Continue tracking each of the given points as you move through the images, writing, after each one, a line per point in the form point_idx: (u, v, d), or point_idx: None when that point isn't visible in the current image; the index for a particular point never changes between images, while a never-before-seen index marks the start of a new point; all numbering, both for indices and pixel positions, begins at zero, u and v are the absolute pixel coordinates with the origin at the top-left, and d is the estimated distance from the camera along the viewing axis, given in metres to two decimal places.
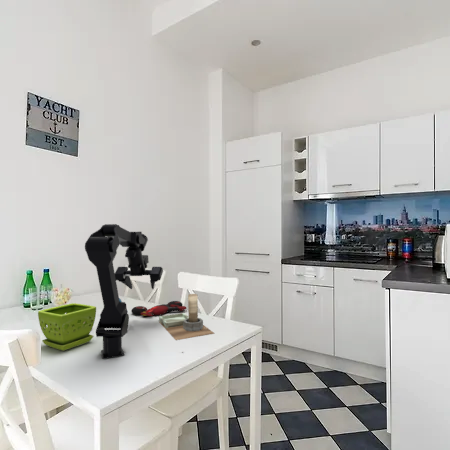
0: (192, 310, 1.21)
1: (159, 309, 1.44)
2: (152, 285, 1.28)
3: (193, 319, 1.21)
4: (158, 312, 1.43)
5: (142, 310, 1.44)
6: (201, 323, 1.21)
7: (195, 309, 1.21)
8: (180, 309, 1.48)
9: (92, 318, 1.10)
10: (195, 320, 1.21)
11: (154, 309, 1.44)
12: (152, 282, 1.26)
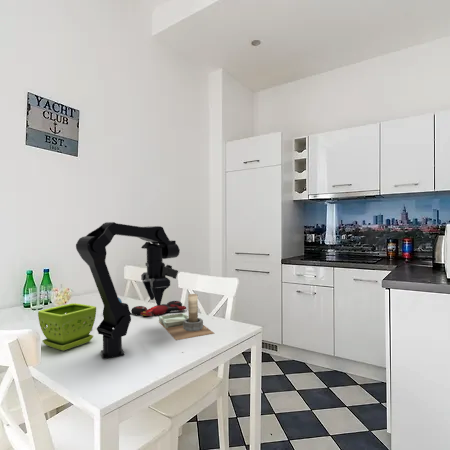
0: (192, 310, 1.21)
1: (159, 309, 1.44)
2: (154, 296, 1.10)
3: (193, 319, 1.21)
4: (158, 312, 1.43)
5: (142, 310, 1.44)
6: (201, 323, 1.21)
7: (195, 309, 1.21)
8: (180, 309, 1.48)
9: (92, 318, 1.10)
10: (195, 320, 1.21)
11: (154, 309, 1.44)
12: (151, 290, 1.09)
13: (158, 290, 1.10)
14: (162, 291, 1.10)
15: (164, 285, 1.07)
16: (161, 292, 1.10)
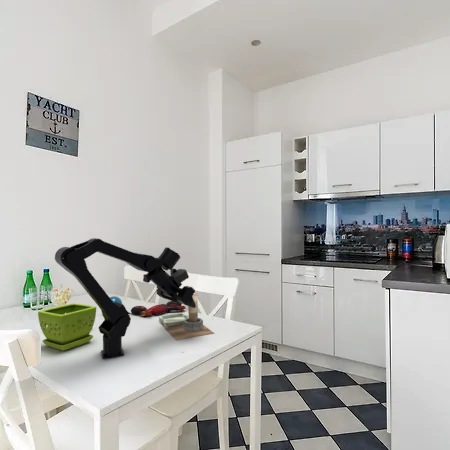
0: (192, 310, 1.21)
1: (158, 309, 1.44)
2: (188, 305, 1.14)
3: (193, 319, 1.21)
4: (157, 312, 1.43)
5: (141, 310, 1.44)
6: (201, 323, 1.21)
7: (195, 309, 1.21)
8: (179, 309, 1.48)
9: (92, 318, 1.10)
10: (195, 320, 1.21)
11: (153, 309, 1.44)
12: None
13: None
14: (191, 297, 1.14)
15: (191, 294, 1.11)
16: (191, 298, 1.14)
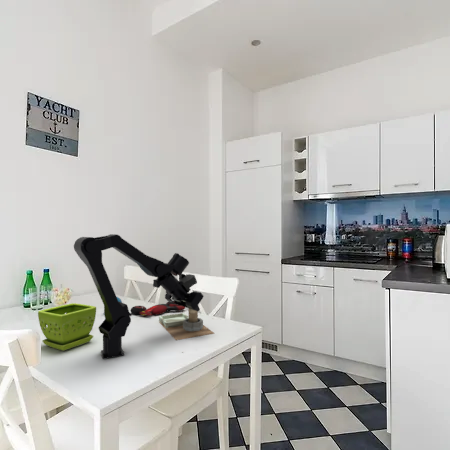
0: (192, 310, 1.21)
1: (158, 308, 1.44)
2: None
3: (193, 319, 1.21)
4: (157, 311, 1.43)
5: (141, 309, 1.45)
6: (201, 323, 1.21)
7: None
8: (179, 308, 1.49)
9: (92, 318, 1.10)
10: (195, 320, 1.21)
11: (153, 308, 1.45)
12: None
13: None
14: None
15: (200, 300, 1.13)
16: None
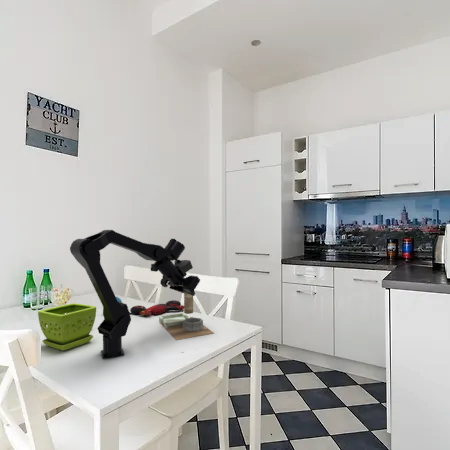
0: (188, 294, 1.23)
1: (158, 308, 1.45)
2: (188, 293, 1.21)
3: (189, 304, 1.23)
4: (157, 311, 1.44)
5: (141, 309, 1.45)
6: (201, 323, 1.21)
7: None
8: (179, 308, 1.49)
9: (92, 318, 1.10)
10: (191, 304, 1.23)
11: (153, 308, 1.45)
12: None
13: None
14: None
15: (197, 283, 1.16)
16: None
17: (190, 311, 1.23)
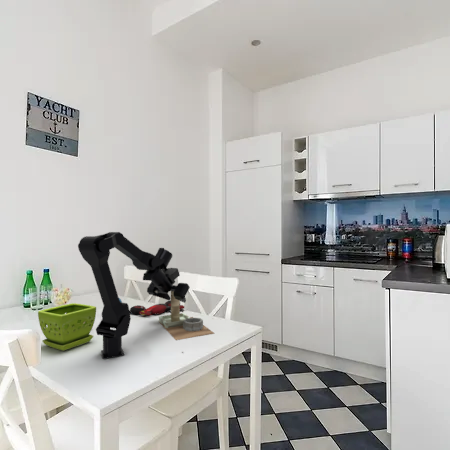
0: (175, 303, 1.28)
1: (157, 308, 1.45)
2: (180, 300, 1.26)
3: (176, 312, 1.28)
4: (156, 311, 1.44)
5: (140, 309, 1.45)
6: (201, 323, 1.21)
7: (178, 302, 1.29)
8: None
9: (92, 318, 1.10)
10: (178, 313, 1.29)
11: (152, 308, 1.45)
12: (178, 299, 1.23)
13: None
14: None
15: (187, 290, 1.22)
16: None
17: (177, 319, 1.29)
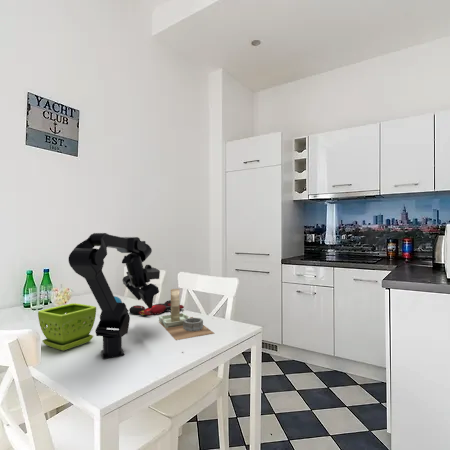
0: (175, 304, 1.28)
1: (157, 308, 1.45)
2: (145, 303, 1.15)
3: (176, 313, 1.28)
4: (156, 311, 1.44)
5: (140, 309, 1.45)
6: (201, 323, 1.21)
7: (178, 303, 1.29)
8: None
9: (92, 318, 1.10)
10: (178, 313, 1.29)
11: (152, 308, 1.45)
12: (142, 299, 1.13)
13: None
14: (152, 297, 1.16)
15: (154, 293, 1.12)
16: (151, 298, 1.16)
17: (177, 319, 1.29)
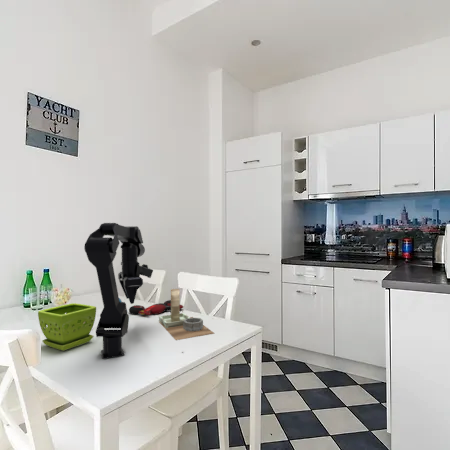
0: (175, 304, 1.28)
1: (157, 308, 1.46)
2: (127, 295, 1.12)
3: (176, 313, 1.28)
4: (156, 311, 1.45)
5: (140, 309, 1.46)
6: (201, 323, 1.21)
7: (178, 303, 1.29)
8: None
9: (92, 318, 1.10)
10: (178, 313, 1.29)
11: (152, 308, 1.46)
12: (125, 288, 1.11)
13: (131, 289, 1.12)
14: (135, 290, 1.13)
15: (136, 284, 1.10)
16: (134, 291, 1.13)
17: (177, 319, 1.29)
